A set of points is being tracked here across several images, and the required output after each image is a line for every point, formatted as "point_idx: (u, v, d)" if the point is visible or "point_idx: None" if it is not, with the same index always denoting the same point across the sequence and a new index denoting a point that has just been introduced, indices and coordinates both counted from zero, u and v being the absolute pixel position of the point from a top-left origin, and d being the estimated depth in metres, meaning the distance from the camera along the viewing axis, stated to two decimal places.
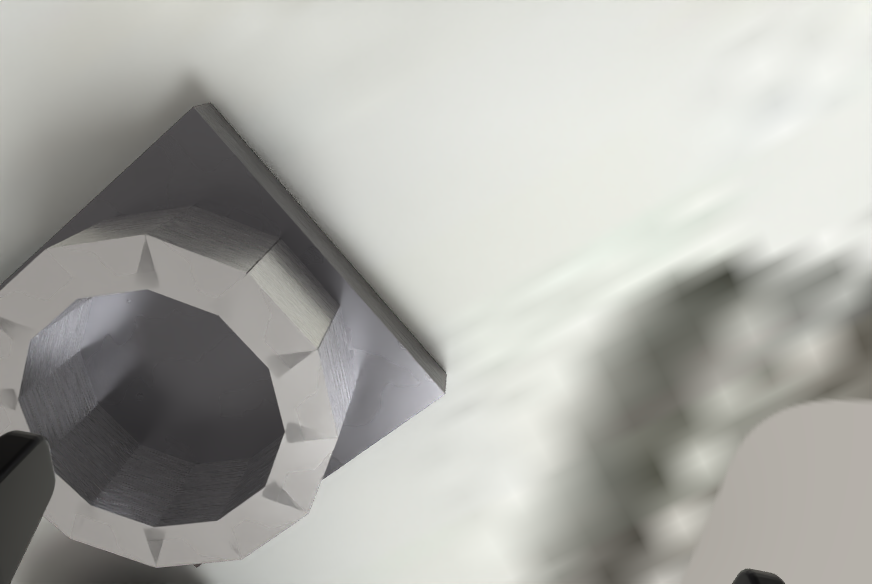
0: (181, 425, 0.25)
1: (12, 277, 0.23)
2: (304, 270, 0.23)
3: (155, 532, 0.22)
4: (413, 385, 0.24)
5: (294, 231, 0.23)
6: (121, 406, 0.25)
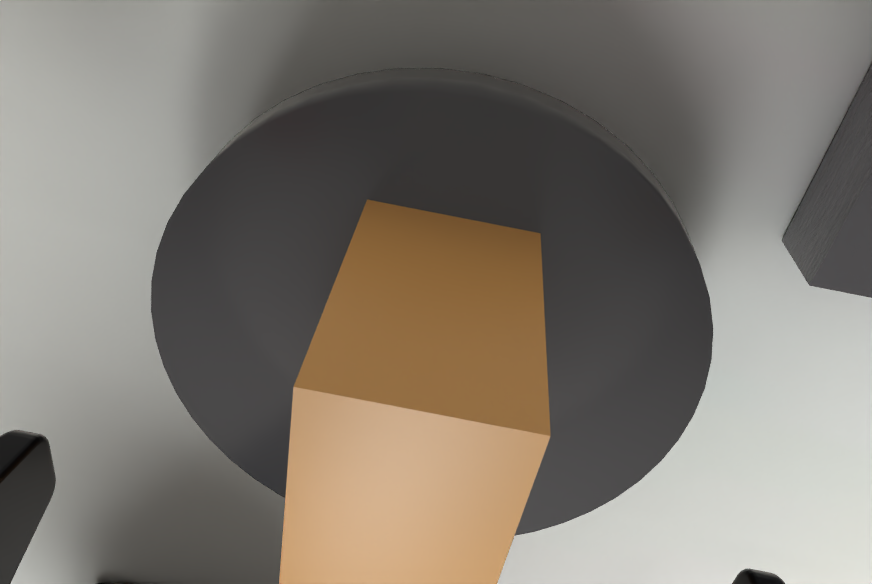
0: None
1: None
2: None
3: None
4: None
5: None
6: None
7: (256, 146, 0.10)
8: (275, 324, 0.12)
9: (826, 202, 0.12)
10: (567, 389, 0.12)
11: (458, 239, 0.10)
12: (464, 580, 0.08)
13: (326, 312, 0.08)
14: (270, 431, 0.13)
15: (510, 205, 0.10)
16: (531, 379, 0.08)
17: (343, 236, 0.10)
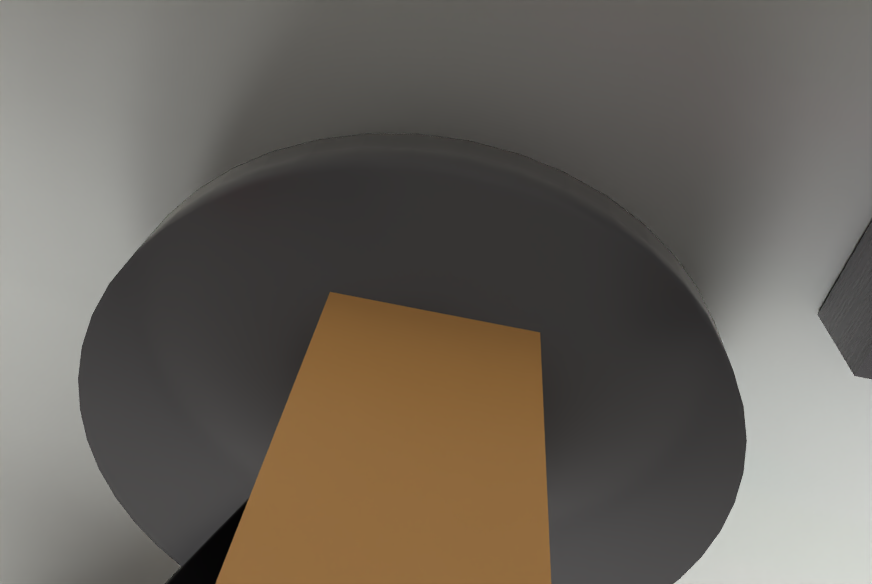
0: None
1: None
2: None
3: None
4: None
5: None
6: None
7: (193, 230, 0.08)
8: (226, 426, 0.10)
9: None
10: (571, 501, 0.10)
11: (439, 345, 0.08)
12: None
13: (264, 471, 0.06)
14: None
15: (503, 301, 0.08)
16: (528, 569, 0.06)
17: (302, 333, 0.09)
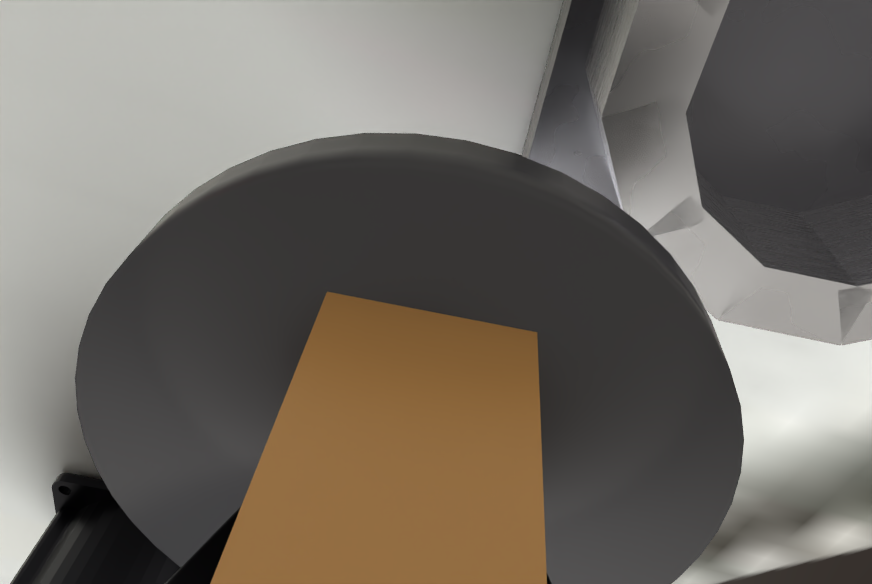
0: (720, 93, 0.17)
1: None
2: None
3: (692, 213, 0.15)
4: None
5: None
6: None
7: (190, 230, 0.08)
8: (223, 426, 0.10)
9: None
10: (569, 501, 0.10)
11: (436, 346, 0.08)
12: None
13: (259, 471, 0.06)
14: None
15: (500, 300, 0.08)
16: (524, 569, 0.06)
17: (299, 332, 0.09)
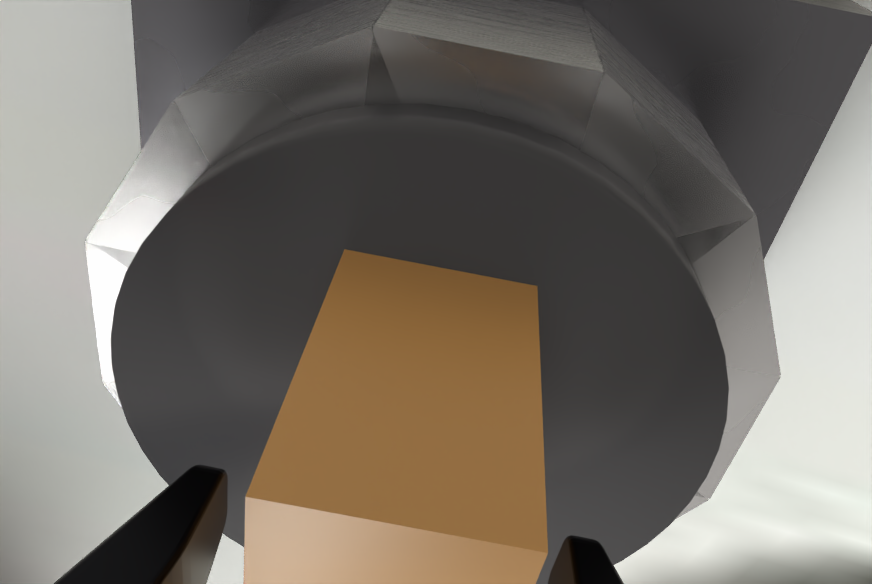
0: None
1: None
2: None
3: None
4: None
5: None
6: None
7: (220, 193, 0.09)
8: (247, 380, 0.11)
9: None
10: (568, 449, 0.11)
11: (445, 296, 0.09)
12: None
13: (290, 395, 0.07)
14: (245, 491, 0.12)
15: (503, 256, 0.09)
16: (525, 476, 0.06)
17: (319, 288, 0.09)
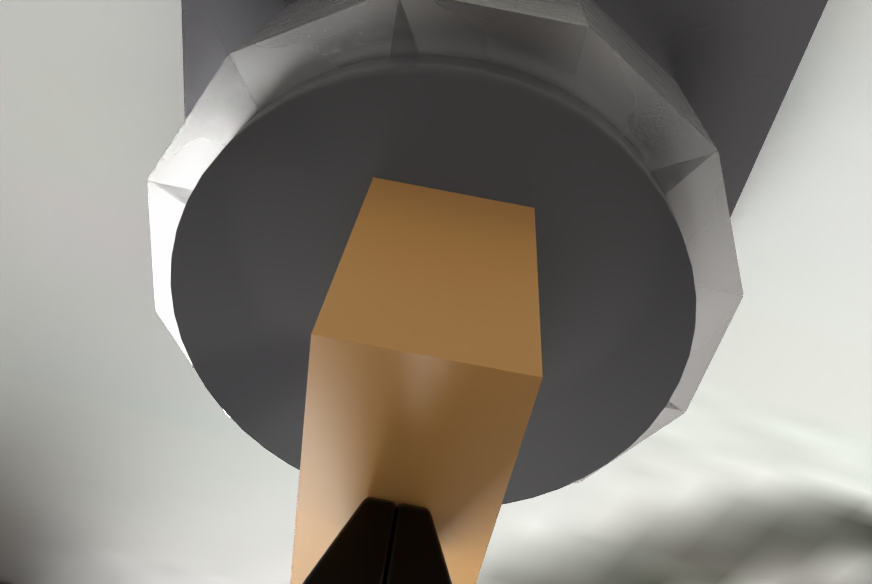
0: None
1: None
2: None
3: None
4: None
5: None
6: None
7: (270, 128, 0.11)
8: (287, 298, 0.12)
9: None
10: (561, 357, 0.12)
11: (458, 212, 0.10)
12: (465, 520, 0.09)
13: (338, 273, 0.09)
14: (281, 402, 0.14)
15: (506, 181, 0.11)
16: (525, 331, 0.08)
17: (351, 212, 0.11)
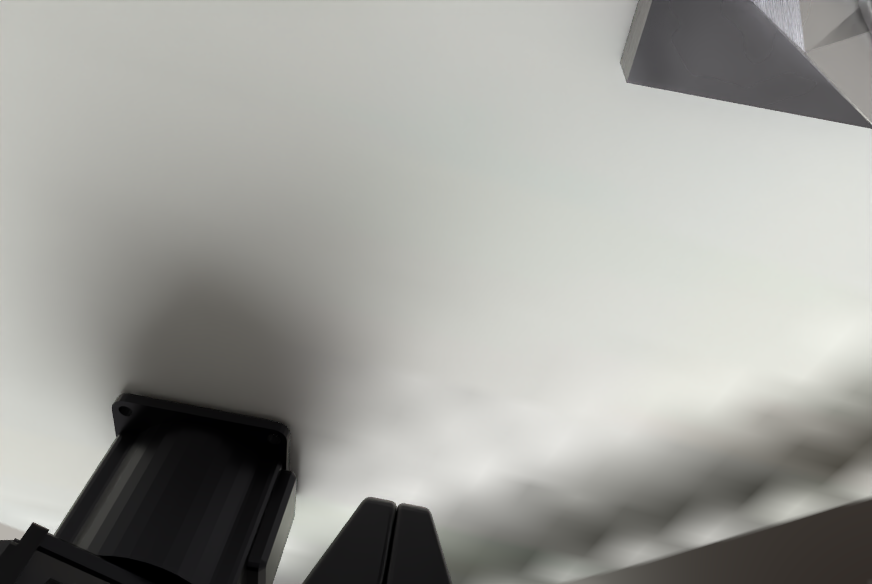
0: None
1: None
2: None
3: None
4: None
5: None
6: None
7: None
8: None
9: (638, 21, 0.17)
10: None
11: None
12: None
13: None
14: None
15: None
16: None
17: None
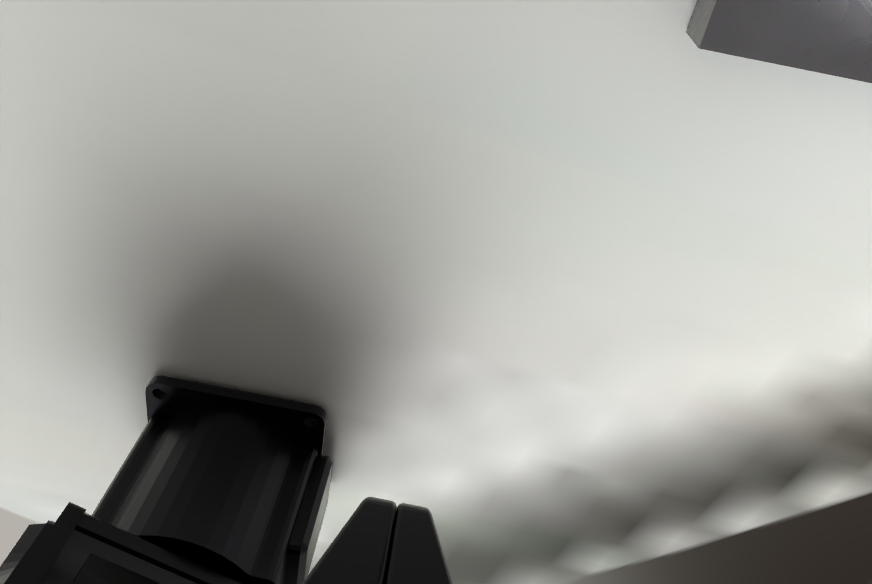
0: None
1: None
2: None
3: None
4: None
5: None
6: None
7: None
8: None
9: None
10: None
11: None
12: None
13: None
14: None
15: None
16: None
17: None
